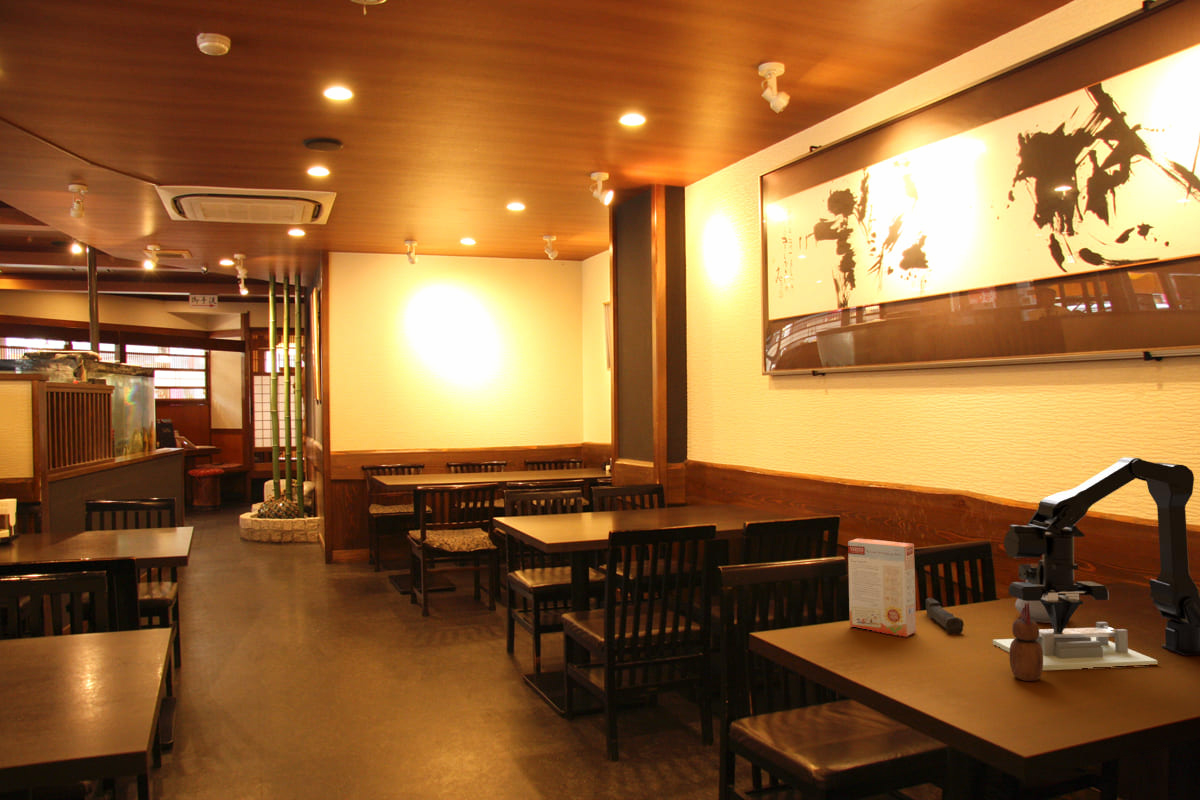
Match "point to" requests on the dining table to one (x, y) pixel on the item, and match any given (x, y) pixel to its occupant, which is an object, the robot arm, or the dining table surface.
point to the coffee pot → (1034, 607)
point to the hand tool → (943, 617)
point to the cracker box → (882, 586)
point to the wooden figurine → (1026, 648)
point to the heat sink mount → (1085, 651)
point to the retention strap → (1081, 632)
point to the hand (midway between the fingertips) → (1058, 631)
